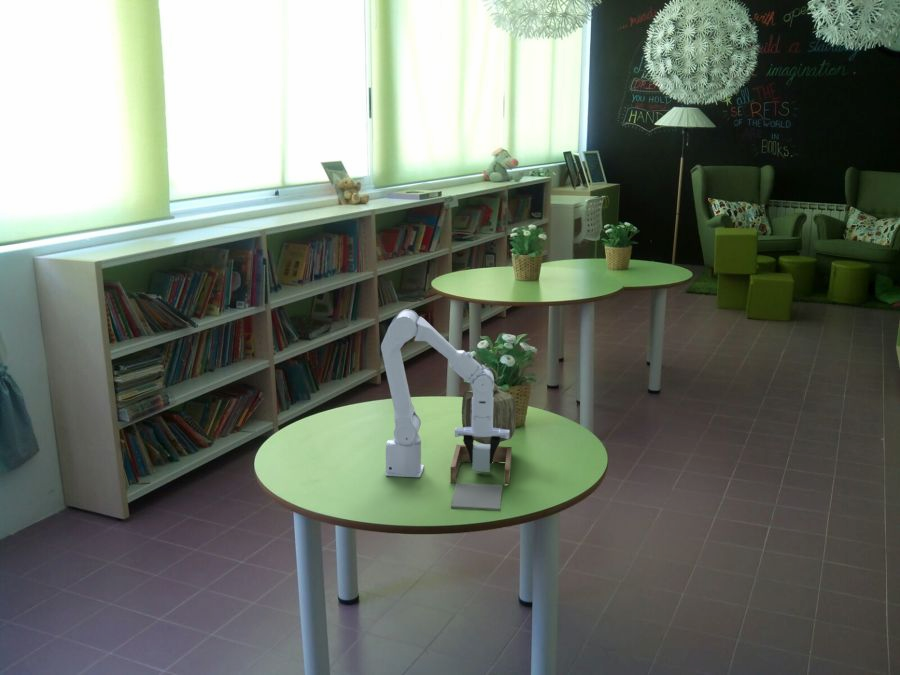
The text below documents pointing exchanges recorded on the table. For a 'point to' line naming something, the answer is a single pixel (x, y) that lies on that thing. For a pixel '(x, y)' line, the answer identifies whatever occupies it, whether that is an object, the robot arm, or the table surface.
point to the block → (481, 457)
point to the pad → (477, 496)
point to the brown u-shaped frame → (462, 455)
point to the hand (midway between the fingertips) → (481, 462)
